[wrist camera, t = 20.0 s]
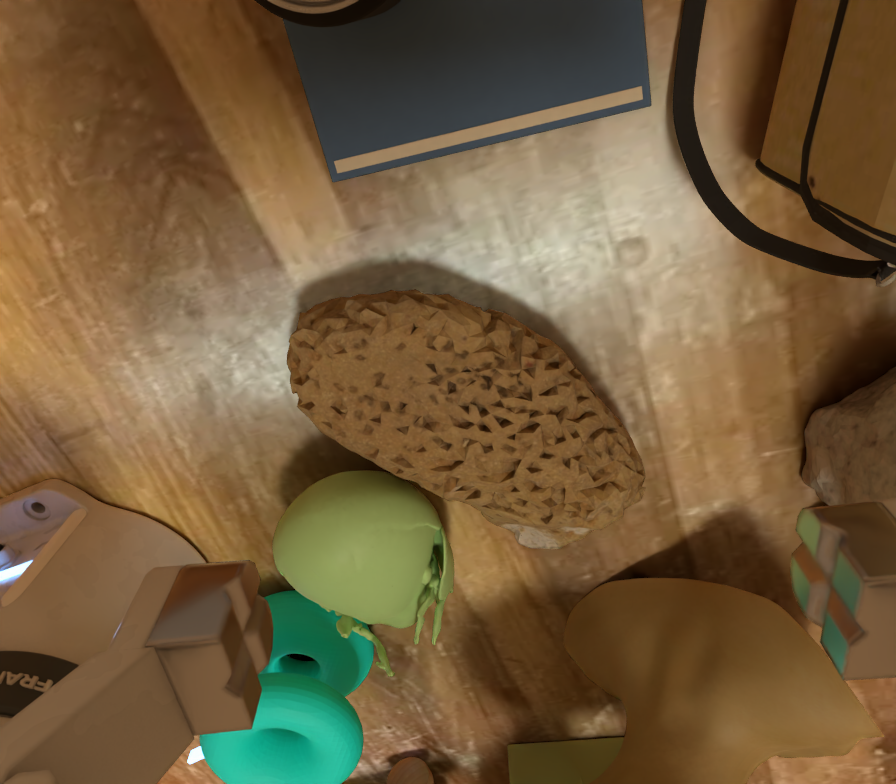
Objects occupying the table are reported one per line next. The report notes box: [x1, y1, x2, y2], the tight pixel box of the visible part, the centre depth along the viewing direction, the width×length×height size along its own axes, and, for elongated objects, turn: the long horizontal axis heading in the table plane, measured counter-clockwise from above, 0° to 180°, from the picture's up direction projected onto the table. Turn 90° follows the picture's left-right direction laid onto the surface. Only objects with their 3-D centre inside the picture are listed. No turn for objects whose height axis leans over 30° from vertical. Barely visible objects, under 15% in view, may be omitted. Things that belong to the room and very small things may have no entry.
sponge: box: [287, 289, 645, 549], centre depth 39 cm, size 13×8×20 cm
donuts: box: [200, 590, 374, 784], centre depth 48 cm, size 10×10×10 cm
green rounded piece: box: [273, 471, 454, 677], centre depth 43 cm, size 12×11×11 cm
